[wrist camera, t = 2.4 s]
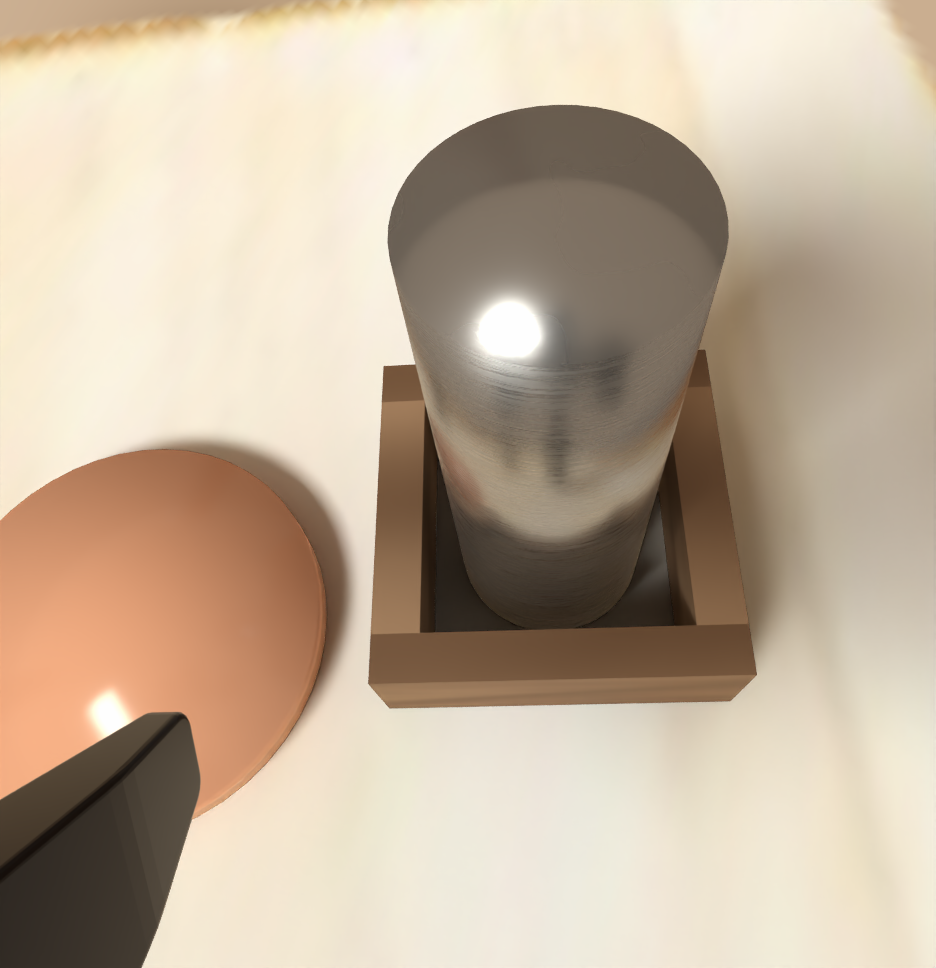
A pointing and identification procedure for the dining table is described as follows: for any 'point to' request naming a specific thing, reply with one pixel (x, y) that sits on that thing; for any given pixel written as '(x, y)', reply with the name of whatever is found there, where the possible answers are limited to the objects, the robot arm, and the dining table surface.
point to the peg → (555, 340)
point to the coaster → (155, 615)
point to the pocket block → (557, 652)
